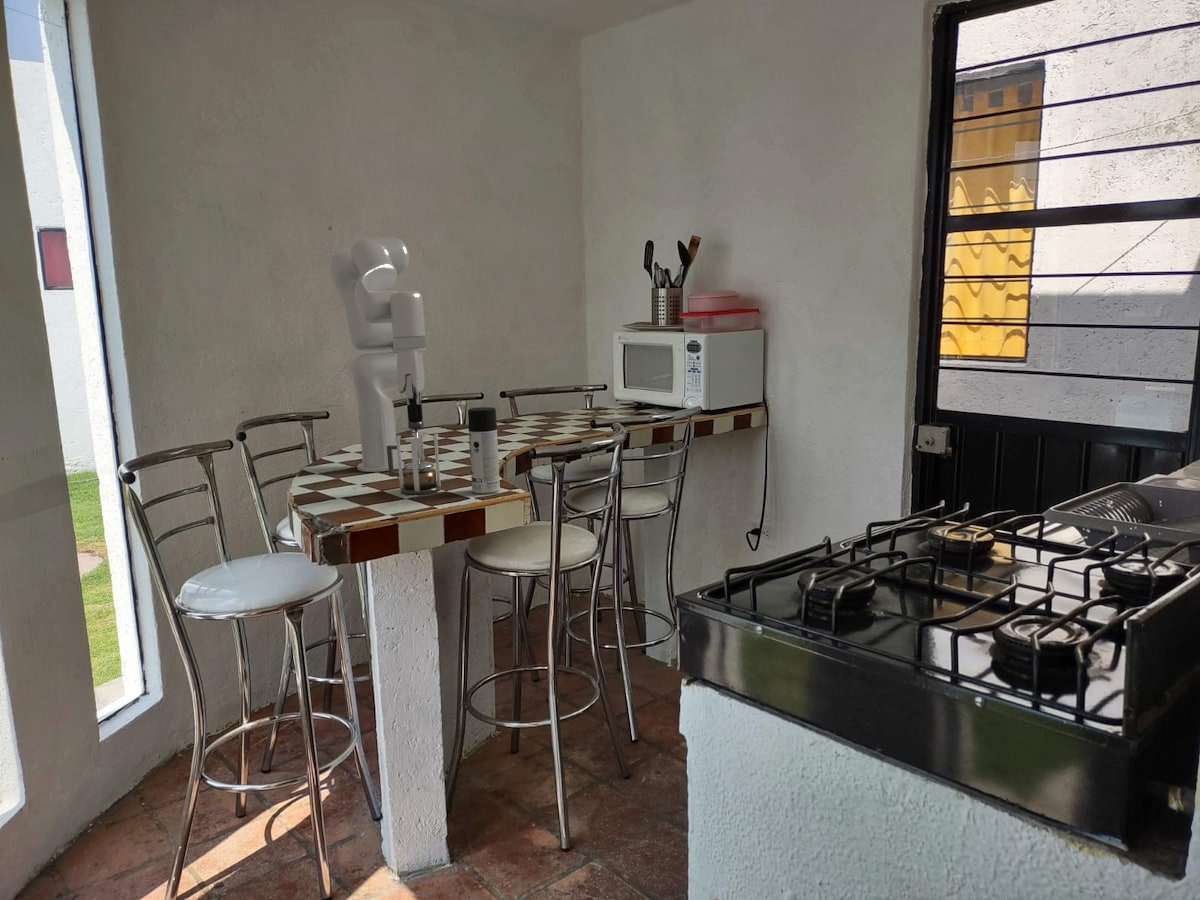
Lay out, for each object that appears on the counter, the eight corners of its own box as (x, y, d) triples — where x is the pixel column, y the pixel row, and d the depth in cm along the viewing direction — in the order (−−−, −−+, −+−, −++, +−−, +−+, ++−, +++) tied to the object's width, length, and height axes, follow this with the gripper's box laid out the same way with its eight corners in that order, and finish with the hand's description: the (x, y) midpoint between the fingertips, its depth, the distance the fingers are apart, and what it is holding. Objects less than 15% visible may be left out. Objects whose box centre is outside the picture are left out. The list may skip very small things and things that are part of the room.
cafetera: (394, 487, 216) (390, 433, 213) (443, 485, 216) (439, 431, 214) (387, 496, 206) (382, 440, 204) (437, 494, 207) (433, 438, 204)
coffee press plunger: (406, 464, 213) (403, 419, 211) (436, 463, 214) (432, 418, 212) (401, 470, 206) (397, 424, 204) (431, 469, 207) (428, 422, 205)
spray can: (474, 488, 212) (469, 407, 208) (502, 487, 212) (497, 406, 208) (469, 494, 205) (464, 411, 202) (498, 494, 205) (493, 410, 201)
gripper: (399, 343, 212) (405, 417, 215) (387, 346, 197) (393, 426, 200) (430, 341, 212) (436, 416, 215) (420, 345, 197) (426, 425, 201)
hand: (415, 421), depth 208 cm, fingers closed
